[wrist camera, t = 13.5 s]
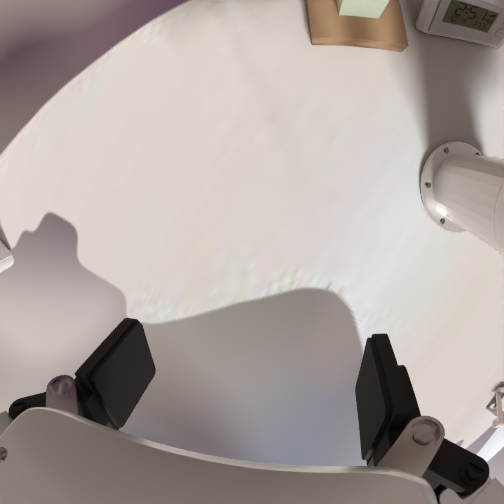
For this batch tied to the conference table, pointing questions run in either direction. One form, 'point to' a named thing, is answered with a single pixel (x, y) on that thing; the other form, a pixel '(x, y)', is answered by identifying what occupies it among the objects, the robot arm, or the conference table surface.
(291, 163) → the conference table surface
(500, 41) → the digital clock
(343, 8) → the sage block
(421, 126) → the conference table surface
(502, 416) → the portable electronic device stand
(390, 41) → the wooden square slab
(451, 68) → the conference table surface
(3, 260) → the photo printer
